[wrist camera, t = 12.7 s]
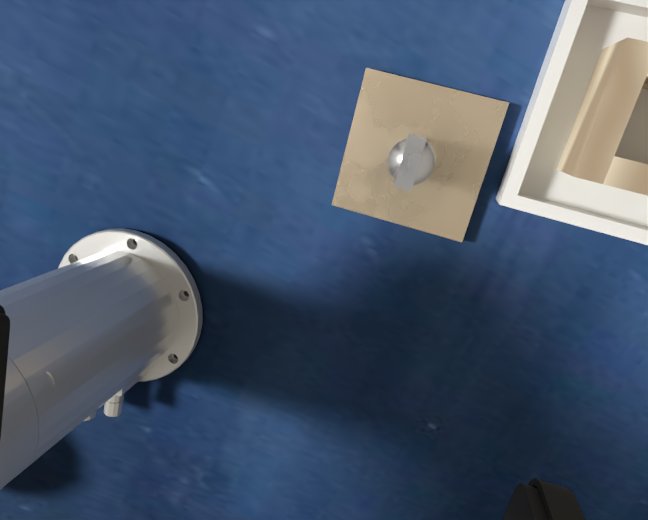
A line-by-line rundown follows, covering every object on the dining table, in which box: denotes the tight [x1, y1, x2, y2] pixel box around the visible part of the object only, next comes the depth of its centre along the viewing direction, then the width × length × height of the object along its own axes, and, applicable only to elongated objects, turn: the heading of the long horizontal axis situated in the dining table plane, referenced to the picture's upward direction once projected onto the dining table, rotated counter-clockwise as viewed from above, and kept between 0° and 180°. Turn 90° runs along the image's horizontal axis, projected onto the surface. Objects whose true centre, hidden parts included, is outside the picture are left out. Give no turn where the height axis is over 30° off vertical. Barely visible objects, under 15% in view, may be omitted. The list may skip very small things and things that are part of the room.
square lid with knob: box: [332, 68, 509, 242], centre depth 31 cm, size 9×9×6 cm
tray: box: [496, 0, 648, 245], centre depth 29 cm, size 13×13×2 cm
